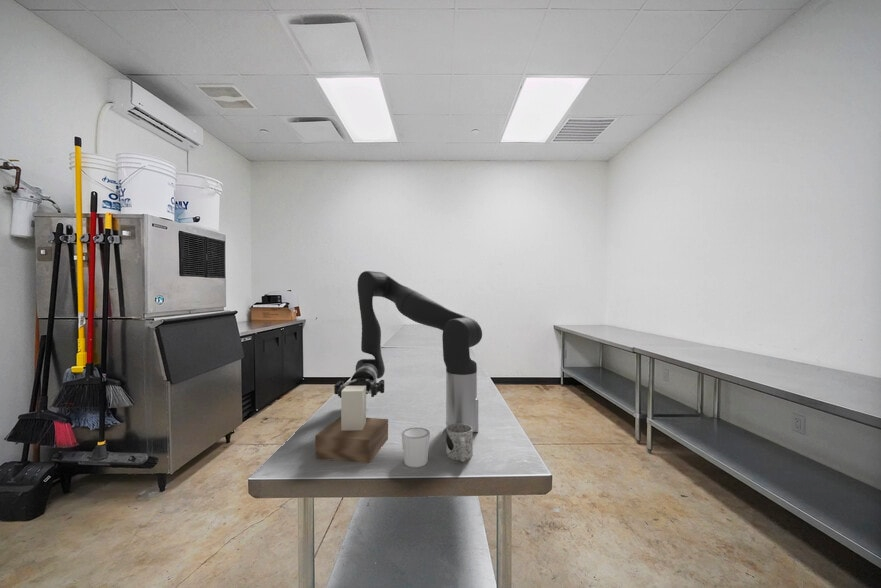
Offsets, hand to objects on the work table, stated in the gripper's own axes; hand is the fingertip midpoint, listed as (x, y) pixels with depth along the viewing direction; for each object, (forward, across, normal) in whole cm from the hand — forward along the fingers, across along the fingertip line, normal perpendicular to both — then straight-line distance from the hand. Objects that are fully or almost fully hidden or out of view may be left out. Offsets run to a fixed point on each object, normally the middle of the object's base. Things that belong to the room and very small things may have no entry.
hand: (356, 393), depth 95 cm
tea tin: (+4, 0, +7) cm, 8 cm away
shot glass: (+13, +16, +13) cm, 25 cm away
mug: (+12, +27, +13) cm, 32 cm away
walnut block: (+4, 0, +13) cm, 14 cm away
